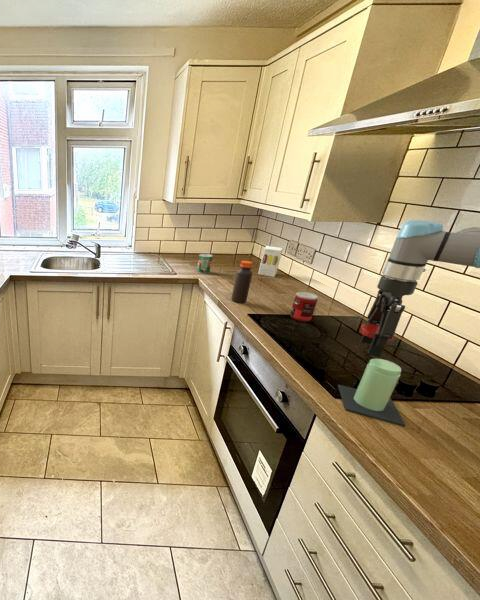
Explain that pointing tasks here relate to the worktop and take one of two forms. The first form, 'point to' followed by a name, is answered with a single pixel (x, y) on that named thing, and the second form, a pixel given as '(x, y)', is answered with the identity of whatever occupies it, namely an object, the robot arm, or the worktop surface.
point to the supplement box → (270, 261)
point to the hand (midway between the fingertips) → (369, 348)
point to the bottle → (242, 282)
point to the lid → (371, 330)
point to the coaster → (386, 415)
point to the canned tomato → (204, 263)
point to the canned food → (303, 306)
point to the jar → (377, 384)
